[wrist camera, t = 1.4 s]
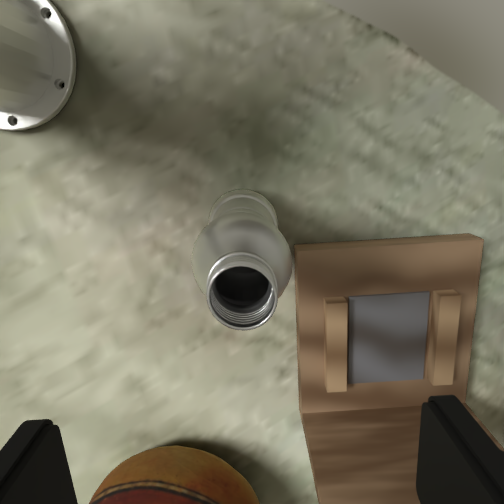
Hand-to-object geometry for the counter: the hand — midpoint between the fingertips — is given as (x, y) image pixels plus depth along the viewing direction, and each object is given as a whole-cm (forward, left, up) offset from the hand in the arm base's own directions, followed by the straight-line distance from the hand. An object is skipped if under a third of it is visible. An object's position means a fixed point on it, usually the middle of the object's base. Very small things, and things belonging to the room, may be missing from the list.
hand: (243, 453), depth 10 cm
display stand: (+13, +14, -30) cm, 35 cm away
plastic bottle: (0, 0, -30) cm, 30 cm away
